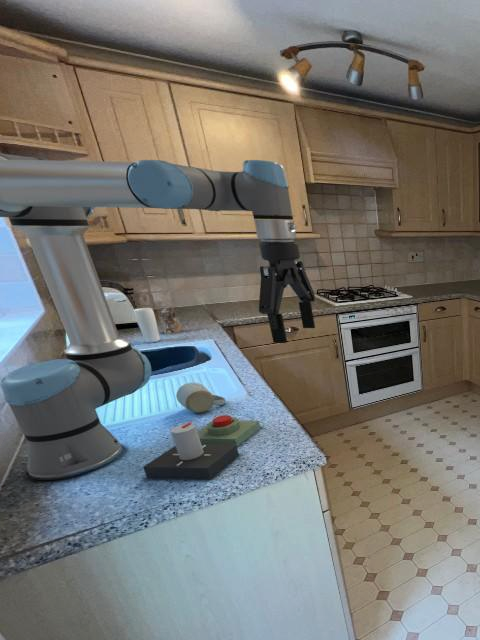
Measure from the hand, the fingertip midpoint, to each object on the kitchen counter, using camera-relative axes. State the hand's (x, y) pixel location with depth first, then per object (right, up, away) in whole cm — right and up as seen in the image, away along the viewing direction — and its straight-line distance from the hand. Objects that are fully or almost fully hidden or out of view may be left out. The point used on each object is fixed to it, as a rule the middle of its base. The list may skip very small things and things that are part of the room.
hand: (295, 334), depth 96 cm
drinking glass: (-114, +8, +90) cm, 146 cm away
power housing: (-24, -26, +10) cm, 36 cm away
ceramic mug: (-42, -19, +26) cm, 53 cm away
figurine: (-118, +14, +105) cm, 159 cm away
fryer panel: (-22, -31, -3) cm, 38 cm away
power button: (-24, -22, +9) cm, 34 cm away
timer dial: (-22, -28, -4) cm, 36 cm away
